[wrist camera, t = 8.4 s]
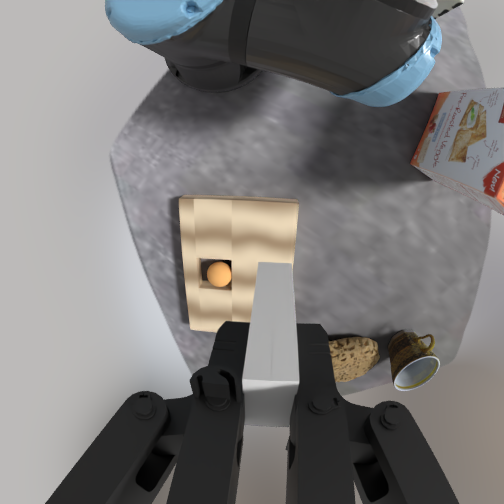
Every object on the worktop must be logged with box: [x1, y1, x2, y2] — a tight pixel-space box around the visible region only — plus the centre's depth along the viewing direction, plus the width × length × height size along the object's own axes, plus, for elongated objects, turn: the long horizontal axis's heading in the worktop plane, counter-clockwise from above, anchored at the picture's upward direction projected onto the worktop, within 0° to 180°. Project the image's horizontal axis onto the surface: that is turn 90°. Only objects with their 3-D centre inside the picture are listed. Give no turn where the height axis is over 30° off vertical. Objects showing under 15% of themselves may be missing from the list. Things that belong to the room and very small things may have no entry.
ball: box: [207, 262, 232, 287], centre depth 44 cm, size 4×4×4 cm
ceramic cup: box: [388, 330, 440, 391], centre depth 45 cm, size 13×10×10 cm
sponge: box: [329, 337, 380, 382], centre depth 49 cm, size 13×8×20 cm
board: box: [179, 195, 299, 332], centre depth 44 cm, size 24×17×2 cm
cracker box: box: [410, 88, 504, 215], centre depth 24 cm, size 14×6×21 cm, turn 158°
